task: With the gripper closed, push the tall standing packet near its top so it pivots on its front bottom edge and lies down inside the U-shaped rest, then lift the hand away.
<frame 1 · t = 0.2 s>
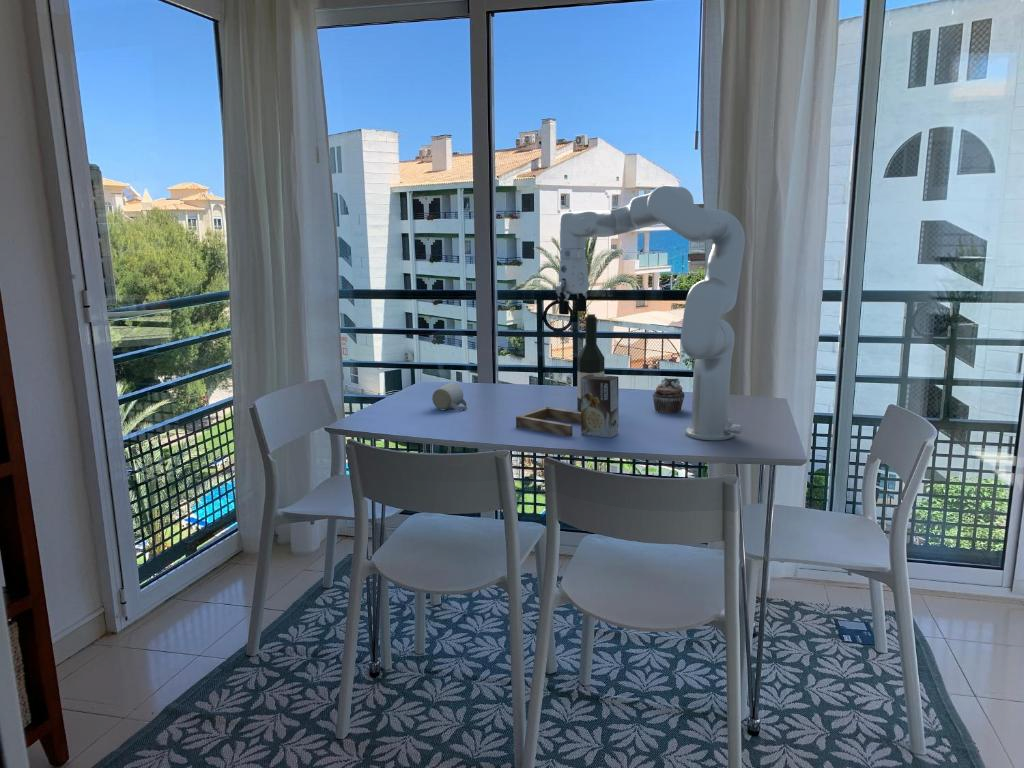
hand: (572, 312, 223), 31 cm above the table, tool pointing down, fingers open, 9 cm apart
u rest: (558, 426, 214), on the table
coffee box: (599, 434, 206), on the table
ceramic mug: (451, 409, 238), on the table
wine bottle: (590, 410, 233), on the table
cupcake: (668, 411, 230), on the table
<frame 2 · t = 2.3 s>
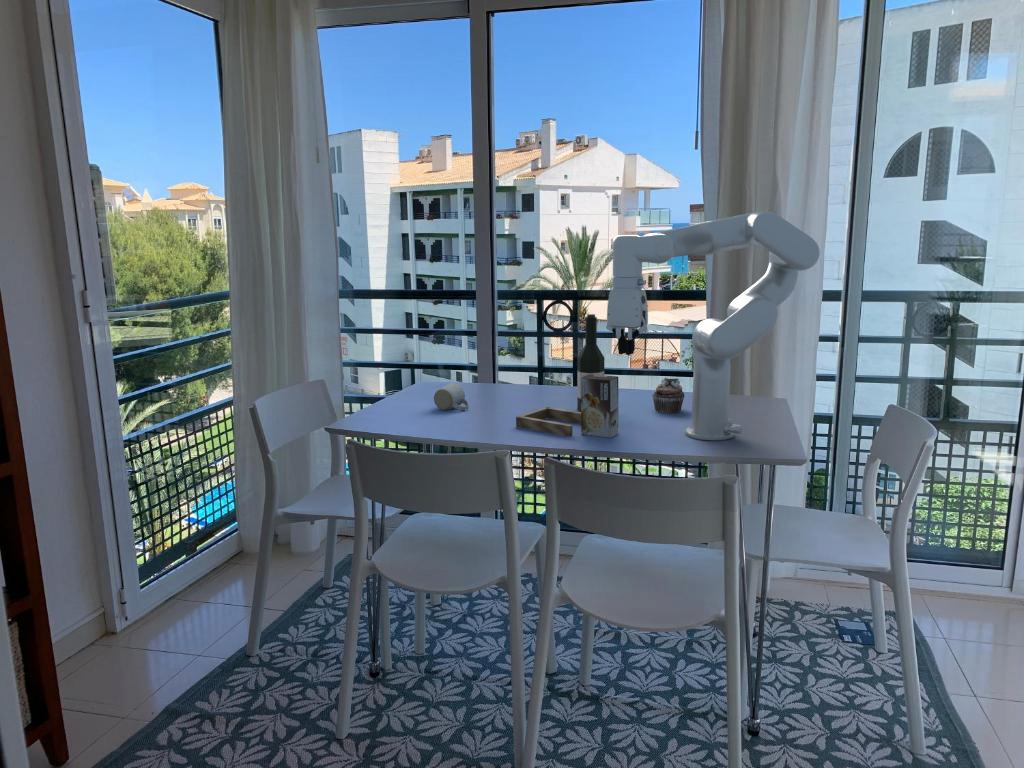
hand: (626, 353, 196), 23 cm above the table, tool pointing down, fingers closed
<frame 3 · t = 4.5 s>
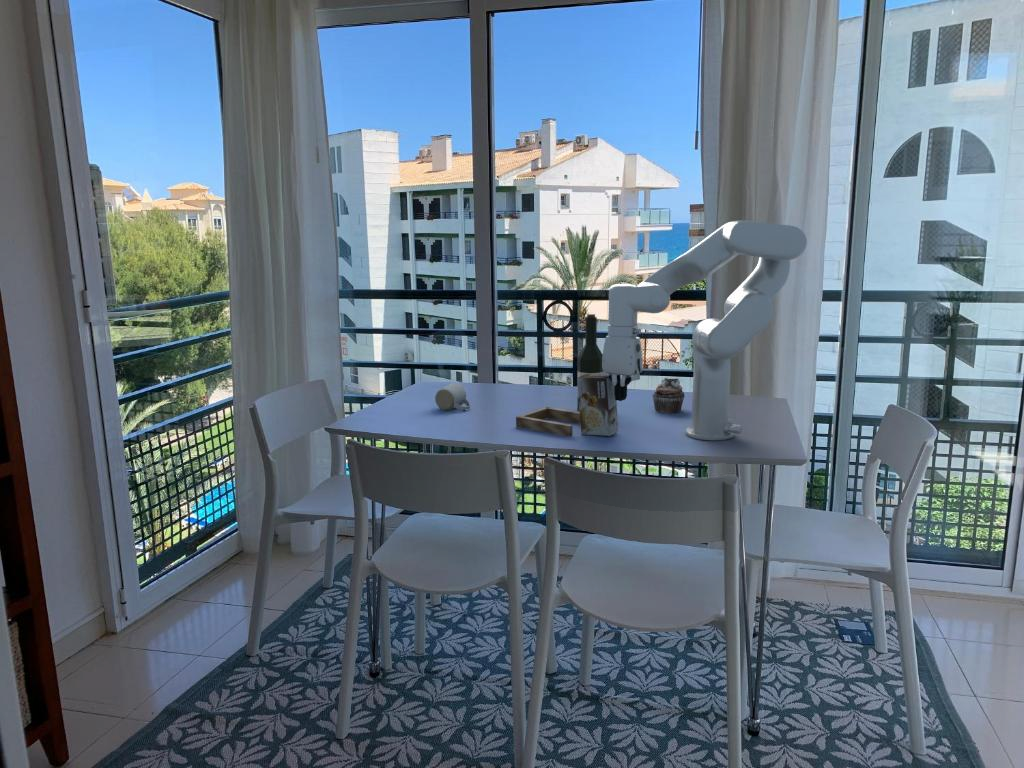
hand: (620, 399, 199), 11 cm above the table, tool pointing down, fingers closed
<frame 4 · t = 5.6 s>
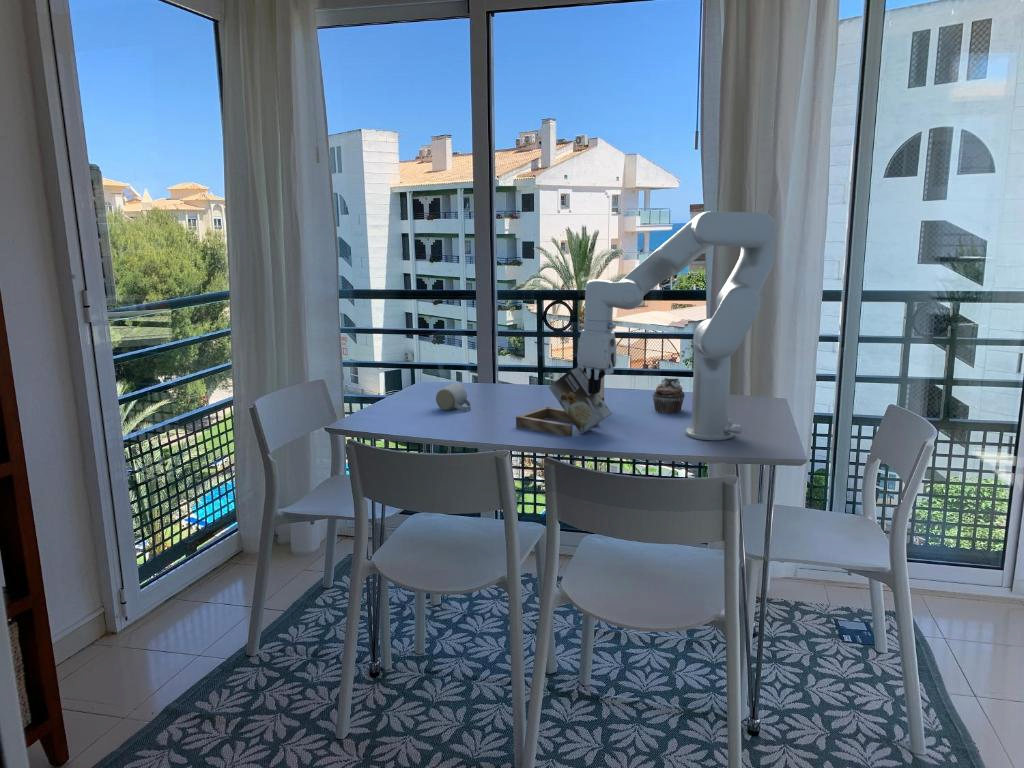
hand: (594, 392, 203), 12 cm above the table, tool pointing down, fingers closed
coffee box: (596, 424, 205), point 3 cm above the table, touching gripper
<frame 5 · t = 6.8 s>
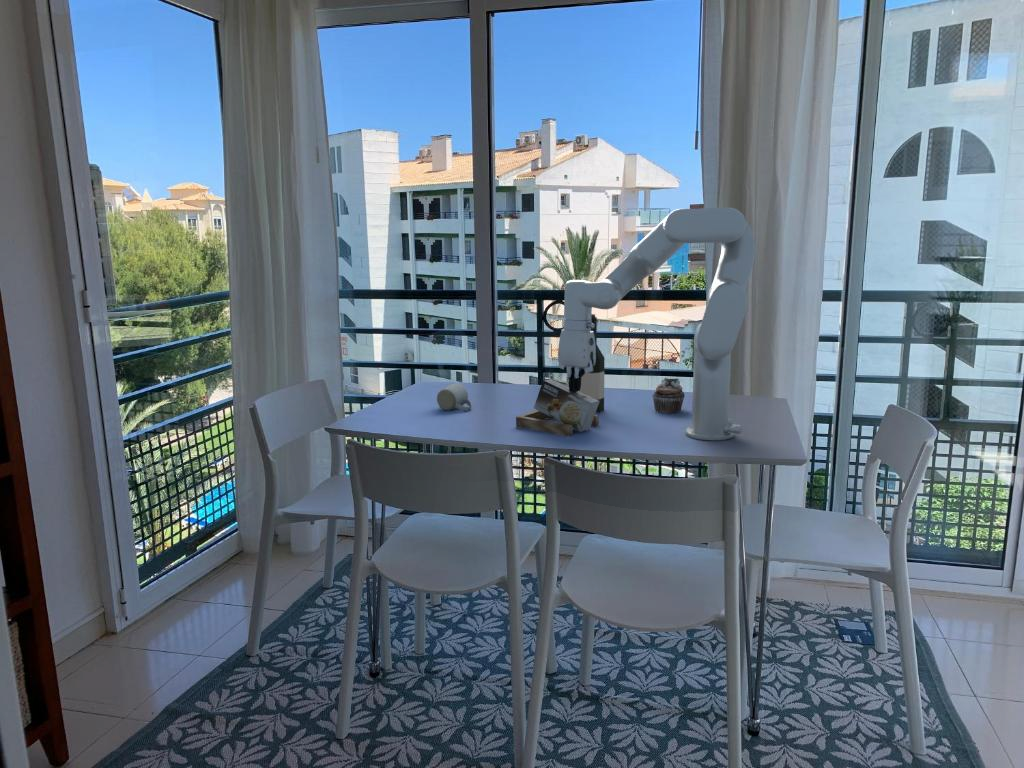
hand: (574, 390, 208), 11 cm above the table, tool pointing down, fingers closed
coffee box: (591, 417, 206), point 4 cm above the table, touching gripper
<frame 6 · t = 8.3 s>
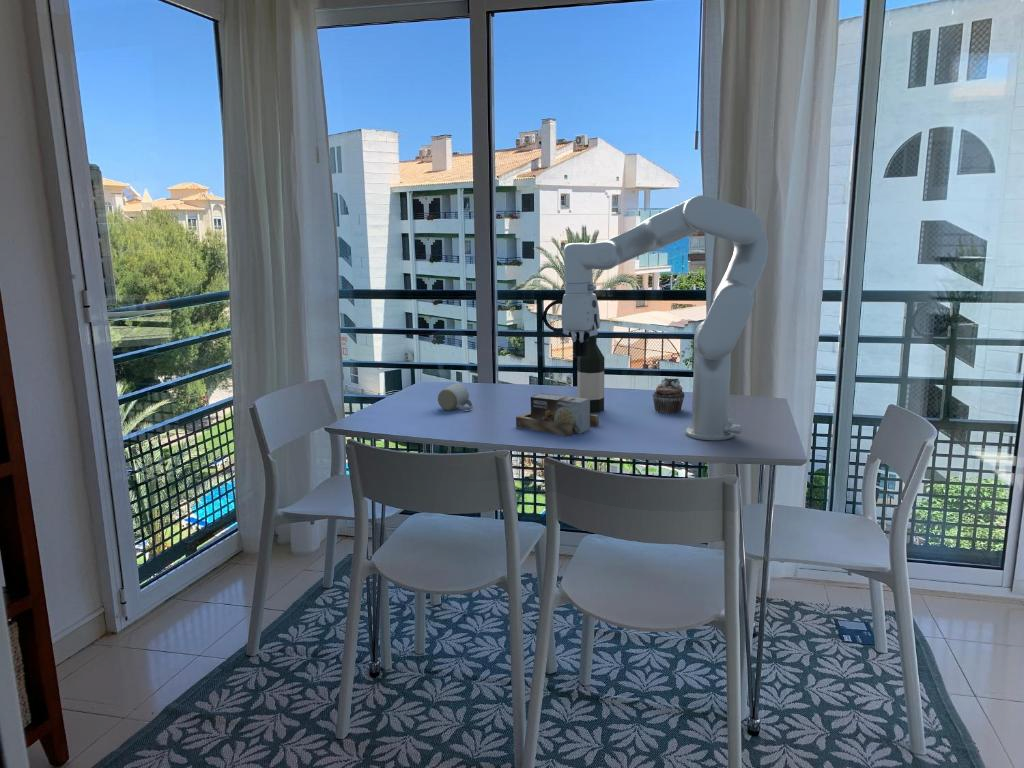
hand: (580, 355, 205), 21 cm above the table, tool pointing down, fingers closed
coffee box: (585, 416, 207), point 4 cm above the table
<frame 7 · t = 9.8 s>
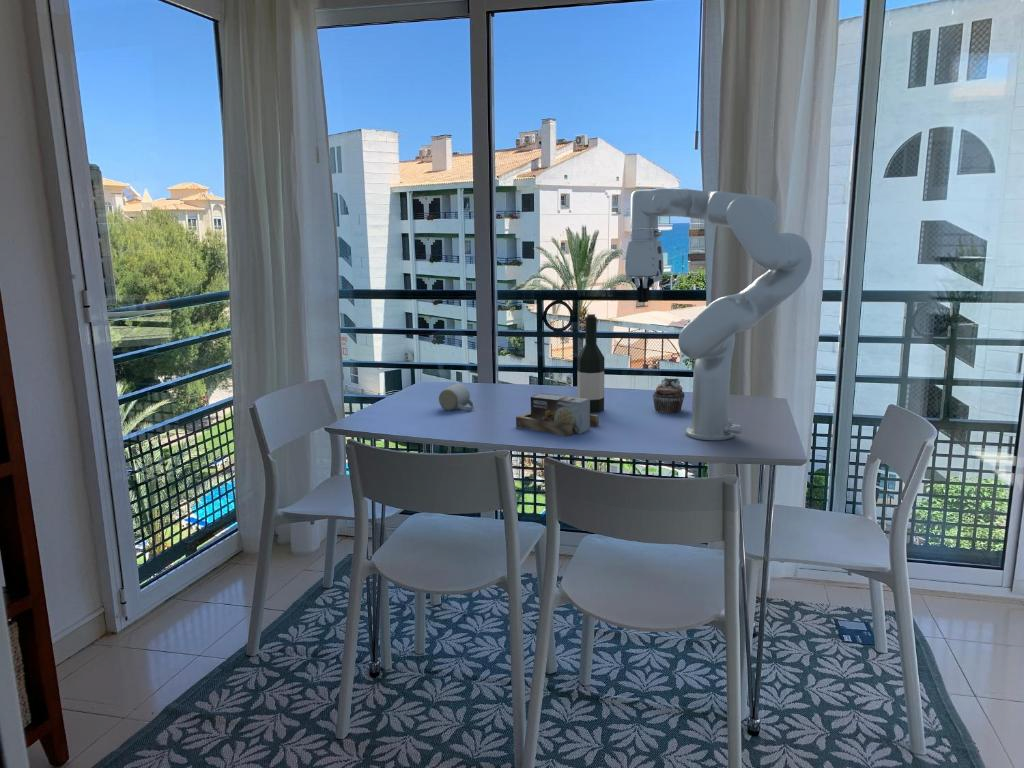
hand: (643, 301, 210), 35 cm above the table, tool pointing down, fingers closed
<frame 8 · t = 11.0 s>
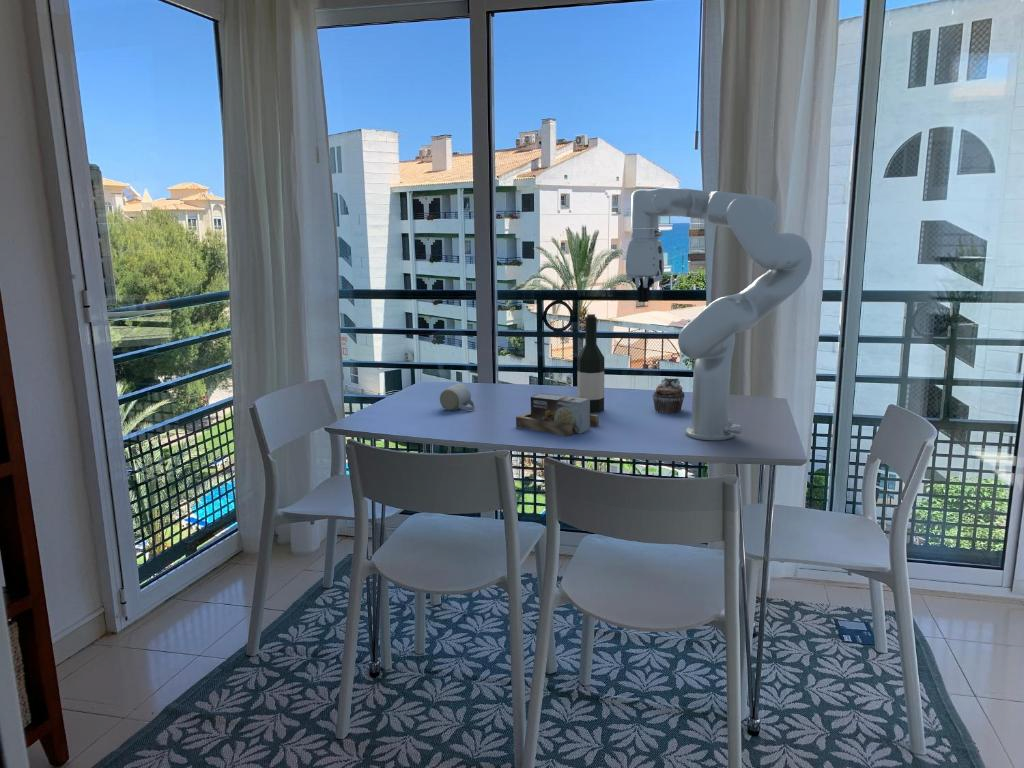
hand: (643, 301, 210), 35 cm above the table, tool pointing down, fingers closed
at the end: coffee box tilted 89°; coffee box inside the target area on the u rest (5.4 cm from its centre), point 4.4 cm above the u rest's base; the gripper is holding nothing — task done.
